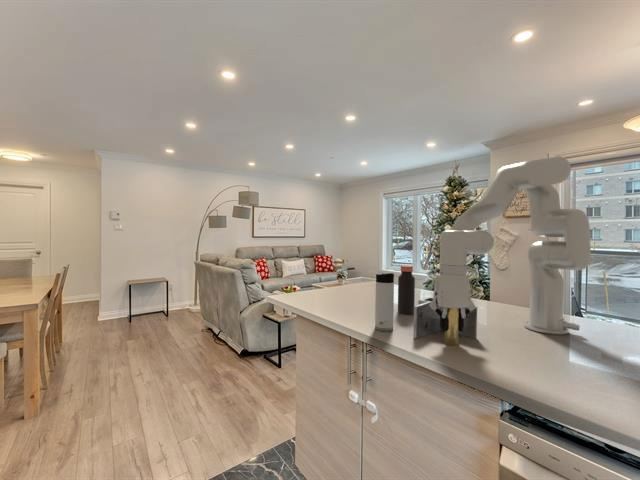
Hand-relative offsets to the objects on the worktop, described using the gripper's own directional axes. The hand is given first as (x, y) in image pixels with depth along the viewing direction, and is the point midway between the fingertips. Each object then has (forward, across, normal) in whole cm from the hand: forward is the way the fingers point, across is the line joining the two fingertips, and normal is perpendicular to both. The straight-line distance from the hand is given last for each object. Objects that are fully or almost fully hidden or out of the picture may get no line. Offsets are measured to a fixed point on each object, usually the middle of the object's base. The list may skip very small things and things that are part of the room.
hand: (451, 329), depth 93 cm
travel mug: (+4, +18, -13) cm, 23 cm away
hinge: (+4, 0, -7) cm, 8 cm away
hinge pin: (+4, 0, 0) cm, 4 cm away
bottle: (+4, +4, -36) cm, 37 cm away
